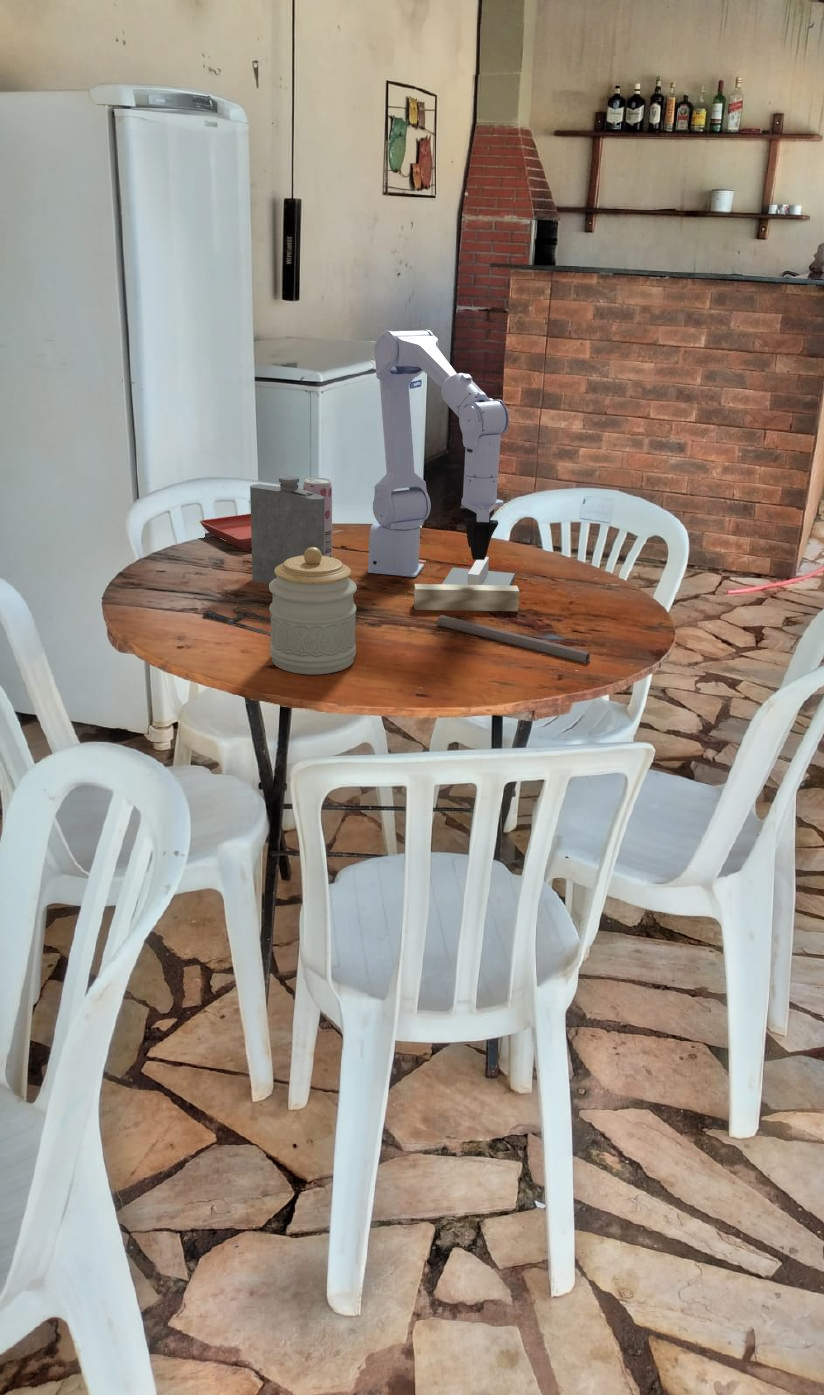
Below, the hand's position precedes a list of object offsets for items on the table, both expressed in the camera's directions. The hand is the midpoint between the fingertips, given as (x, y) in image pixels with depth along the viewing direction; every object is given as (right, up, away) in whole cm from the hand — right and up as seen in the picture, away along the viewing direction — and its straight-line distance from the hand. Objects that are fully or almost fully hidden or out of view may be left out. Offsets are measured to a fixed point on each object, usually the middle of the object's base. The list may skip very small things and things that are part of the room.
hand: (476, 553), depth 189 cm
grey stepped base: (+1, -4, +14) cm, 15 cm away
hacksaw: (-34, -13, -8) cm, 37 cm away
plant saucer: (-44, +8, +41) cm, 60 cm away
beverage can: (-30, +3, +30) cm, 42 cm away
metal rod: (+5, -17, -13) cm, 21 cm away
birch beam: (-2, -10, +3) cm, 10 cm away
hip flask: (-34, -5, +10) cm, 36 cm away
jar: (-26, -20, -23) cm, 40 cm away
